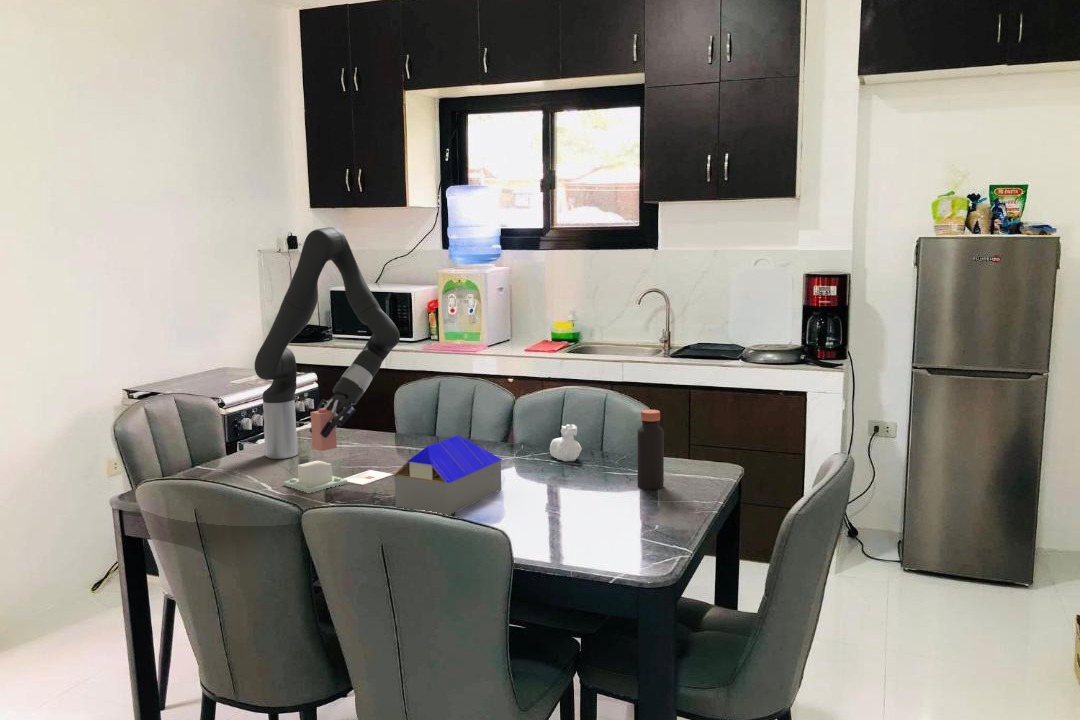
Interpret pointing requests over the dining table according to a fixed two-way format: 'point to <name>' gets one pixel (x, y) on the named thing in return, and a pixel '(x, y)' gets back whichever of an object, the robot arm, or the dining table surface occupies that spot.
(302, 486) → the tower base
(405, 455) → the dining table surface
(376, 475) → the page
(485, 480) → the house
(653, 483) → the bottle
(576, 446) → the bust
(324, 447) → the tall brick
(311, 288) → the robot arm
